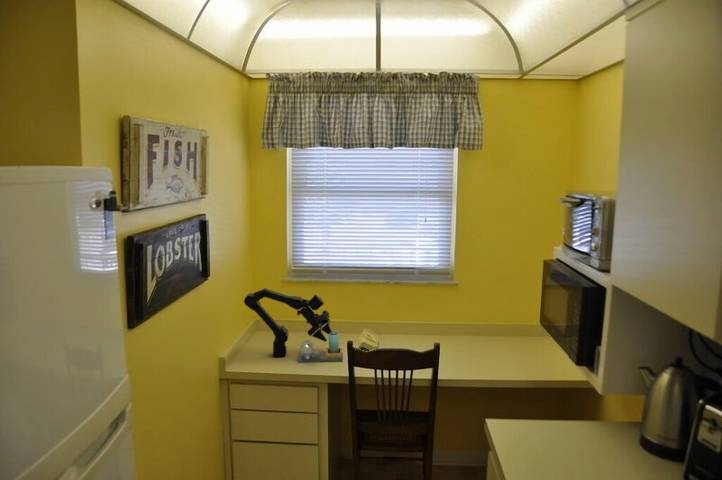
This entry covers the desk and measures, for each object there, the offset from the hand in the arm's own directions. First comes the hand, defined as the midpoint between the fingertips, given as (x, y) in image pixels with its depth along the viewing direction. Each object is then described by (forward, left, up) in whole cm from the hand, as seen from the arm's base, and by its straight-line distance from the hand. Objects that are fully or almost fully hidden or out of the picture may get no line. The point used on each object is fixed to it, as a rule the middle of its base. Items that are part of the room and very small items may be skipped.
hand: (329, 338), depth 273 cm
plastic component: (+21, +17, -11) cm, 30 cm away
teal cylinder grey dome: (+2, -1, -9) cm, 9 cm away
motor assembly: (-5, -1, -10) cm, 12 cm away
